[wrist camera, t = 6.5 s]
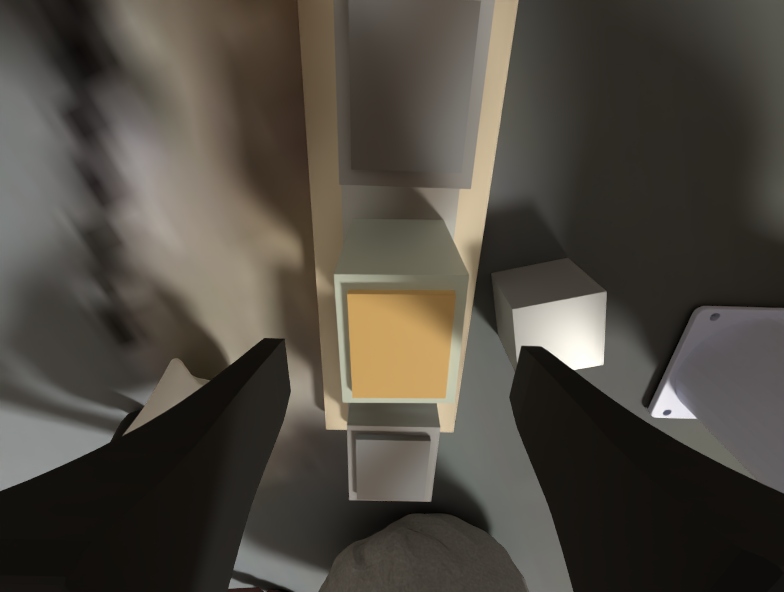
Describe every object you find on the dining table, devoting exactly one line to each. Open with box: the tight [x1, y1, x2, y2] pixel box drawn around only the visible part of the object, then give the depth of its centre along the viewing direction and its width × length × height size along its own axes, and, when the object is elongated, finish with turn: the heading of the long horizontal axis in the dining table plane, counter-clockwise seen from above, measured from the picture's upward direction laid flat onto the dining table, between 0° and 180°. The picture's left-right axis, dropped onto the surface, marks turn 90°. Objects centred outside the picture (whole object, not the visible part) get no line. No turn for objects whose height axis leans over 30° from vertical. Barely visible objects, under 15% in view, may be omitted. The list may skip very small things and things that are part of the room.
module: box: [334, 219, 469, 403], centre depth 15 cm, size 4×5×6 cm
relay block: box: [491, 258, 607, 371], centre depth 19 cm, size 4×4×4 cm
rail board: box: [297, 0, 518, 502], centre depth 16 cm, size 8×22×7 cm, turn 178°
